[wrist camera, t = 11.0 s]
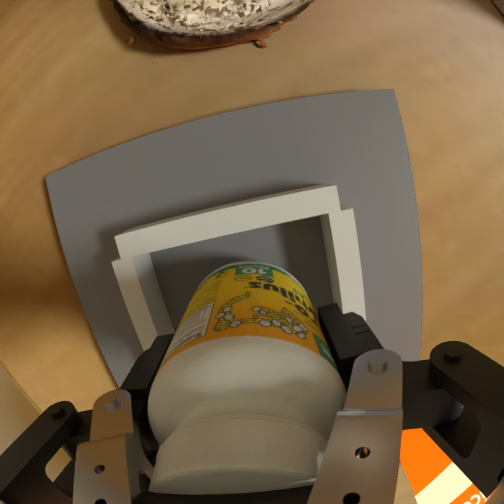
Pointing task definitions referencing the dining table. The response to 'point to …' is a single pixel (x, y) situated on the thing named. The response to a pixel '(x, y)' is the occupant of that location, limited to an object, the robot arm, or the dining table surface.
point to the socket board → (247, 217)
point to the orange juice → (434, 472)
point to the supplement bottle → (244, 388)
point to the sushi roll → (206, 20)
